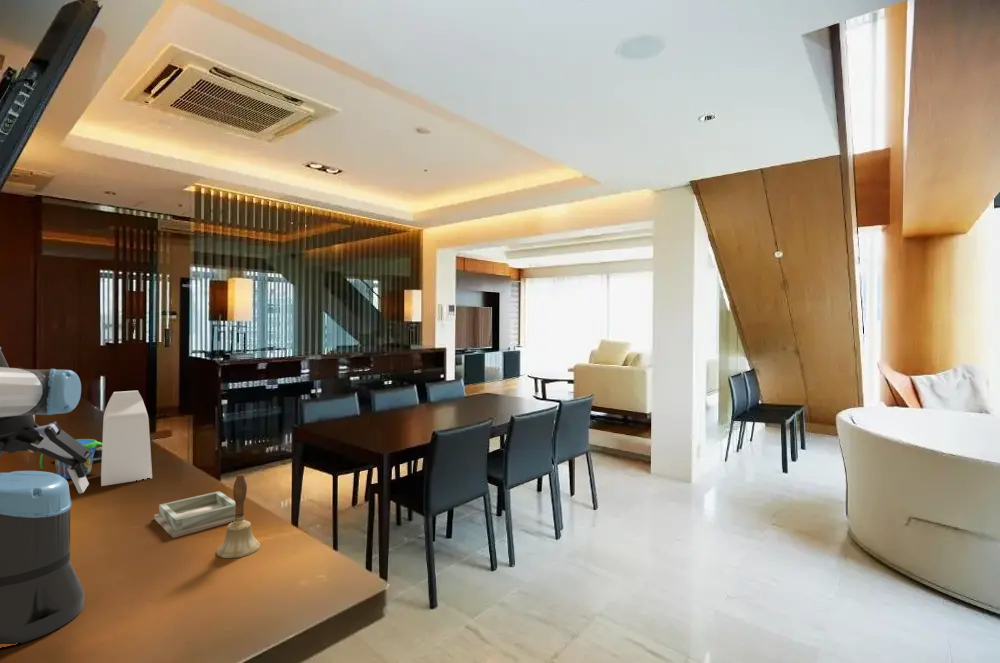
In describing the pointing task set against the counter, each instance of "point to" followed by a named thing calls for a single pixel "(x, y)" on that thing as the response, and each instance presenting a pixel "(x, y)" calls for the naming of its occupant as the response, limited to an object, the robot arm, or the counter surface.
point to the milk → (125, 440)
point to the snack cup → (62, 467)
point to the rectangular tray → (196, 513)
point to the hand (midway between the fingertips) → (45, 494)
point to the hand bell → (238, 527)
